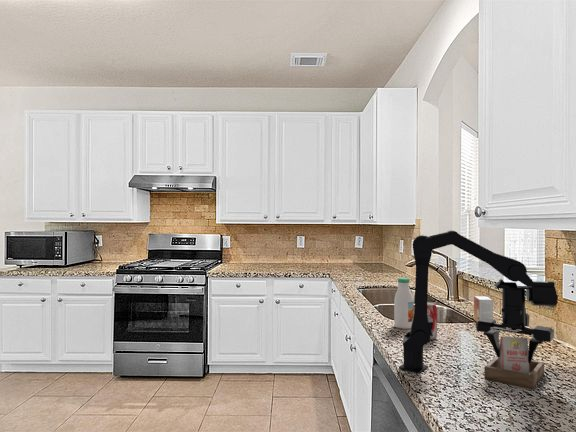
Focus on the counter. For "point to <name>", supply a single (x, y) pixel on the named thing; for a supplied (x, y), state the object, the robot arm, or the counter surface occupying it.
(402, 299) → the milk bottle
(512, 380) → the walnut tray
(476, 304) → the small box
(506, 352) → the tea bag
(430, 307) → the soda can
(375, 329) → the counter surface
